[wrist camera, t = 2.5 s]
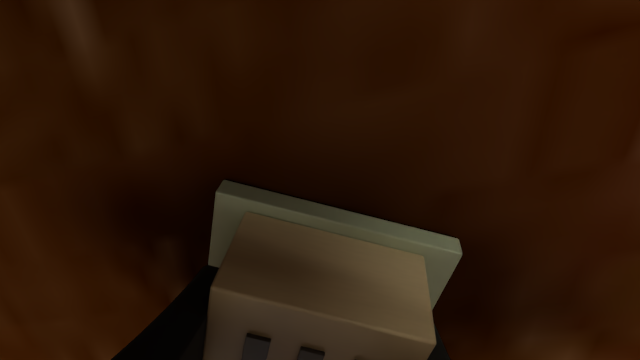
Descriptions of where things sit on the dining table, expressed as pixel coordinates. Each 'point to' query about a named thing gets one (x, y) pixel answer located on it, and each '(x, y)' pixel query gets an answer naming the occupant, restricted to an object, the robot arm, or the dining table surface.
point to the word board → (330, 229)
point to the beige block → (316, 298)
